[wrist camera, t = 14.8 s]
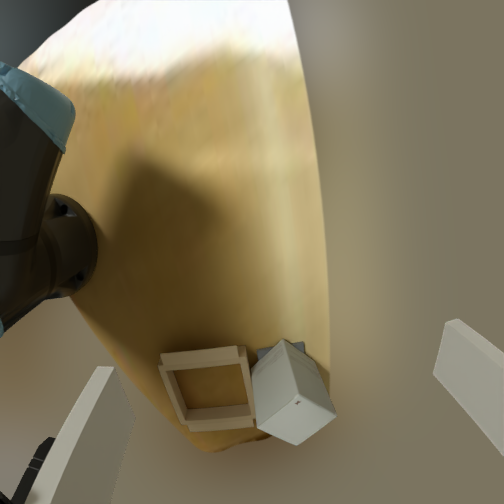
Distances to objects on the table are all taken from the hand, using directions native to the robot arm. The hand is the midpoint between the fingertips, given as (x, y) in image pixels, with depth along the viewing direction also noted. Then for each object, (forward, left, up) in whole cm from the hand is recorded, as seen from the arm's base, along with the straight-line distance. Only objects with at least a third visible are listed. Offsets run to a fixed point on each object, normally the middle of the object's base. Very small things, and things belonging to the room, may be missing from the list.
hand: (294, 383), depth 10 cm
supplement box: (+2, -21, -29) cm, 36 cm away
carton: (-10, -23, -29) cm, 38 cm away
